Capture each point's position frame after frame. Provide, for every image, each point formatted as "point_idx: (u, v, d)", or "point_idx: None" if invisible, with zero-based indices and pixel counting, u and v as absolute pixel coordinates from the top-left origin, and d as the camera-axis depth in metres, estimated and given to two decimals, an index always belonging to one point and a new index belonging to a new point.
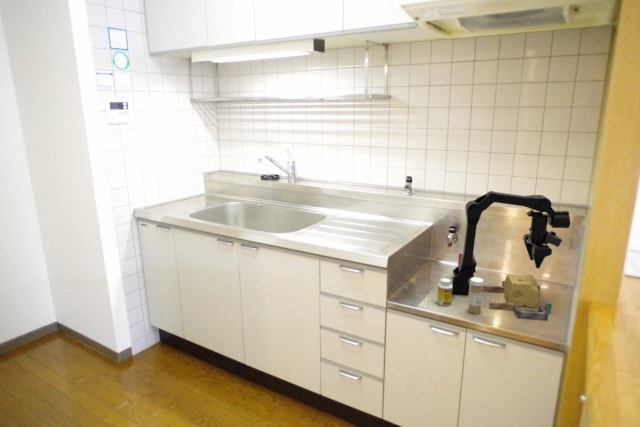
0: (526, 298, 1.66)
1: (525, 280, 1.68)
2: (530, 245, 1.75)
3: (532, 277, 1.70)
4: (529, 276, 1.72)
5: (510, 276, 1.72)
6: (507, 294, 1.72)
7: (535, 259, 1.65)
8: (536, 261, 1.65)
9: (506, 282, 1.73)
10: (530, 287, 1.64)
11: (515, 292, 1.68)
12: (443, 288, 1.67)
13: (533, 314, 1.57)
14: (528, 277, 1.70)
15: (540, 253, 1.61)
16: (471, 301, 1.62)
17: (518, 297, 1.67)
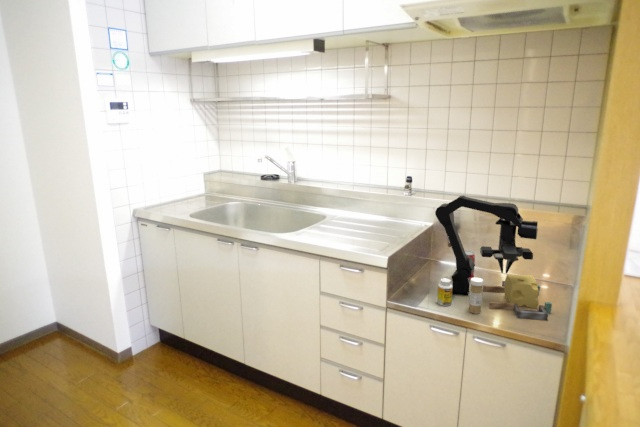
0: (526, 298, 1.66)
1: (525, 280, 1.68)
2: None
3: (532, 277, 1.70)
4: (529, 276, 1.72)
5: (510, 276, 1.72)
6: (507, 294, 1.72)
7: (498, 261, 1.71)
8: (499, 264, 1.70)
9: (506, 282, 1.73)
10: (530, 287, 1.64)
11: (515, 292, 1.68)
12: (443, 288, 1.67)
13: (533, 314, 1.57)
14: (528, 277, 1.70)
15: (480, 252, 1.71)
16: (471, 301, 1.62)
17: (518, 297, 1.67)
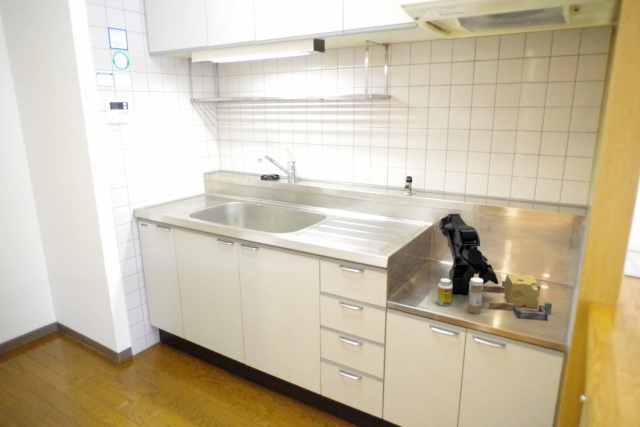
0: (526, 298, 1.66)
1: (525, 280, 1.68)
2: None
3: (532, 277, 1.70)
4: (529, 276, 1.72)
5: (510, 276, 1.72)
6: (507, 294, 1.72)
7: None
8: None
9: (506, 282, 1.73)
10: (530, 287, 1.64)
11: (515, 292, 1.68)
12: (443, 288, 1.67)
13: (533, 314, 1.57)
14: (528, 277, 1.70)
15: None
16: (471, 301, 1.62)
17: (518, 297, 1.67)
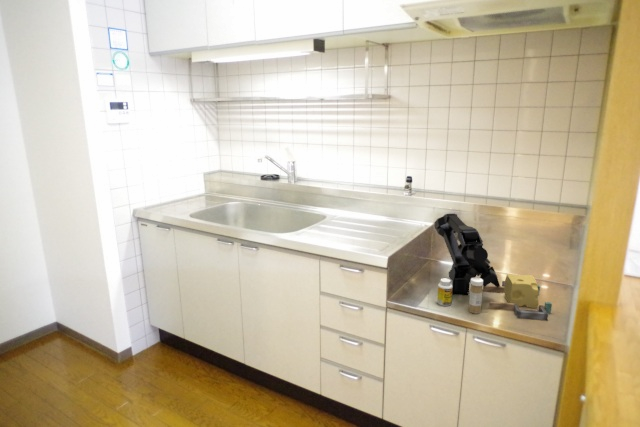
0: (526, 298, 1.66)
1: (525, 280, 1.68)
2: None
3: (532, 277, 1.70)
4: (529, 276, 1.72)
5: (510, 276, 1.72)
6: (507, 294, 1.72)
7: None
8: None
9: (506, 282, 1.73)
10: (530, 287, 1.64)
11: (515, 292, 1.68)
12: (443, 288, 1.67)
13: (533, 314, 1.57)
14: (528, 277, 1.70)
15: None
16: (471, 301, 1.62)
17: (518, 297, 1.67)
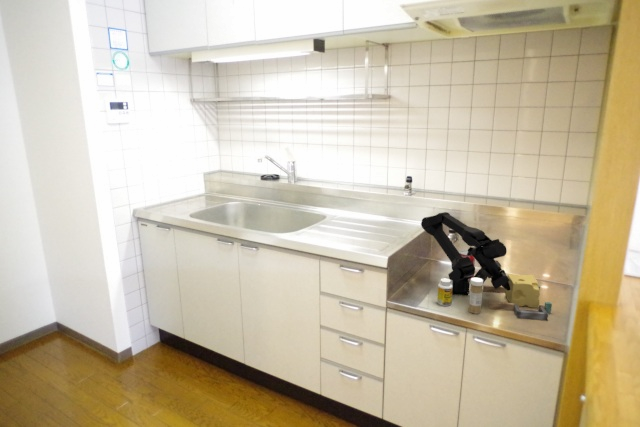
0: (527, 298, 1.66)
1: (526, 280, 1.68)
2: None
3: (533, 277, 1.70)
4: (530, 275, 1.72)
5: (511, 276, 1.72)
6: (508, 294, 1.72)
7: None
8: None
9: None
10: (531, 287, 1.64)
11: (516, 292, 1.67)
12: (443, 288, 1.67)
13: (533, 314, 1.57)
14: (529, 277, 1.70)
15: None
16: (471, 301, 1.62)
17: (519, 297, 1.67)
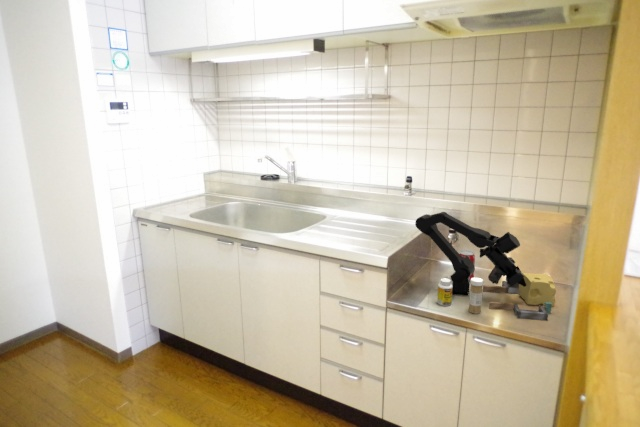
0: (543, 297, 1.66)
1: (542, 278, 1.68)
2: None
3: (547, 275, 1.71)
4: (545, 274, 1.72)
5: (526, 274, 1.72)
6: (523, 292, 1.72)
7: None
8: None
9: None
10: (548, 285, 1.65)
11: (532, 290, 1.68)
12: (443, 288, 1.67)
13: (533, 314, 1.57)
14: (544, 276, 1.71)
15: None
16: (472, 301, 1.62)
17: (535, 295, 1.67)
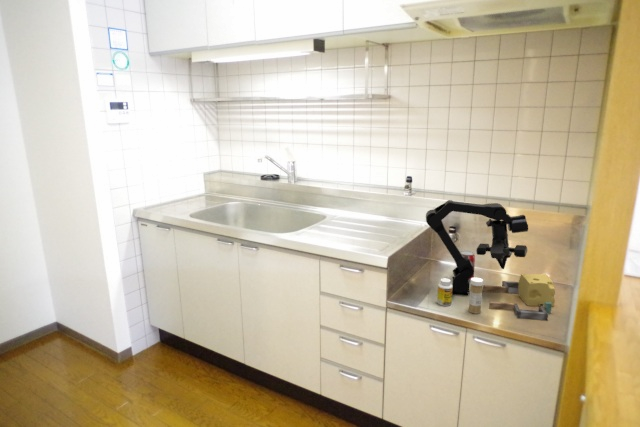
0: (542, 297, 1.66)
1: (540, 279, 1.69)
2: None
3: (546, 276, 1.71)
4: (543, 274, 1.73)
5: (525, 275, 1.72)
6: (522, 294, 1.72)
7: None
8: None
9: (521, 282, 1.73)
10: (547, 286, 1.65)
11: (531, 291, 1.68)
12: (443, 288, 1.67)
13: (533, 314, 1.57)
14: (542, 276, 1.71)
15: None
16: (472, 301, 1.62)
17: (535, 296, 1.67)
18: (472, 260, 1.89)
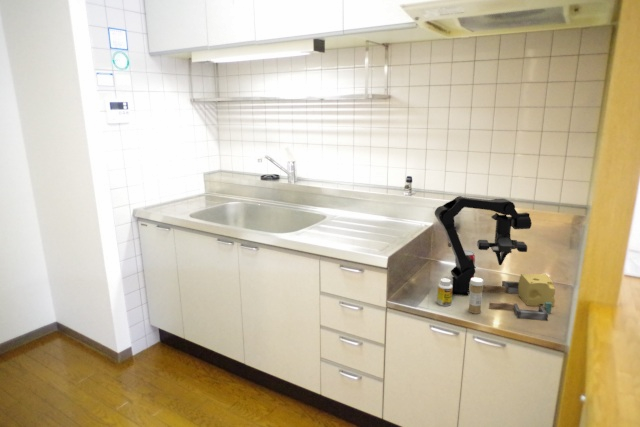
0: (542, 297, 1.66)
1: (540, 279, 1.69)
2: None
3: (546, 276, 1.71)
4: (543, 274, 1.73)
5: (525, 275, 1.72)
6: (522, 294, 1.72)
7: None
8: None
9: (521, 282, 1.73)
10: (547, 286, 1.65)
11: (531, 291, 1.68)
12: (443, 288, 1.67)
13: (533, 314, 1.57)
14: (542, 276, 1.71)
15: (477, 245, 1.79)
16: (471, 301, 1.62)
17: (535, 296, 1.67)
18: None
